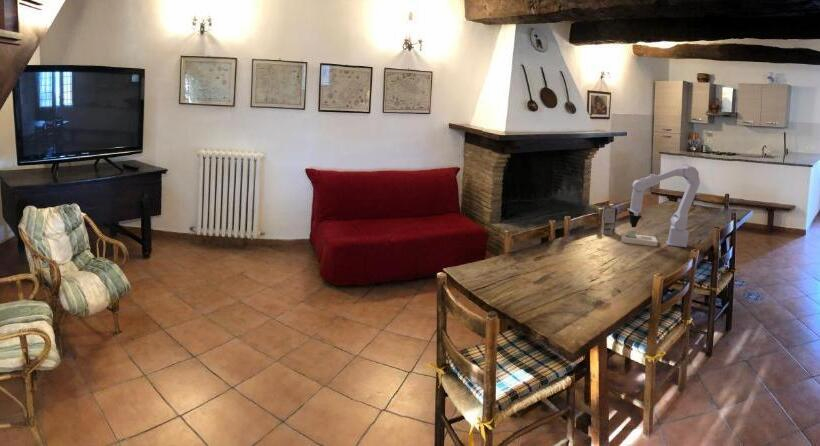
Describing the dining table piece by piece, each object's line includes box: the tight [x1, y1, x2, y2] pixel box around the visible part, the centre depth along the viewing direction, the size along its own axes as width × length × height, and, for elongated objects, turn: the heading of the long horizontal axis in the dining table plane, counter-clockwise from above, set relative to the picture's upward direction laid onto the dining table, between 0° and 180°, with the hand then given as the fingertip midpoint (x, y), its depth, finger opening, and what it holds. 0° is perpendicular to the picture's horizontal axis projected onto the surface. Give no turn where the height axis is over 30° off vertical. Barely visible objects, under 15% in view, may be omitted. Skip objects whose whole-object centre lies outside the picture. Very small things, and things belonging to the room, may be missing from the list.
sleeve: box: [627, 229, 637, 238], centre depth 284 cm, size 4×4×6 cm
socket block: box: [620, 232, 658, 247], centre depth 284 cm, size 18×11×2 cm, turn 72°
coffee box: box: [600, 204, 619, 237], centre depth 297 cm, size 9×6×16 cm
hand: (632, 225), depth 283 cm, fingers open, 7 cm apart
